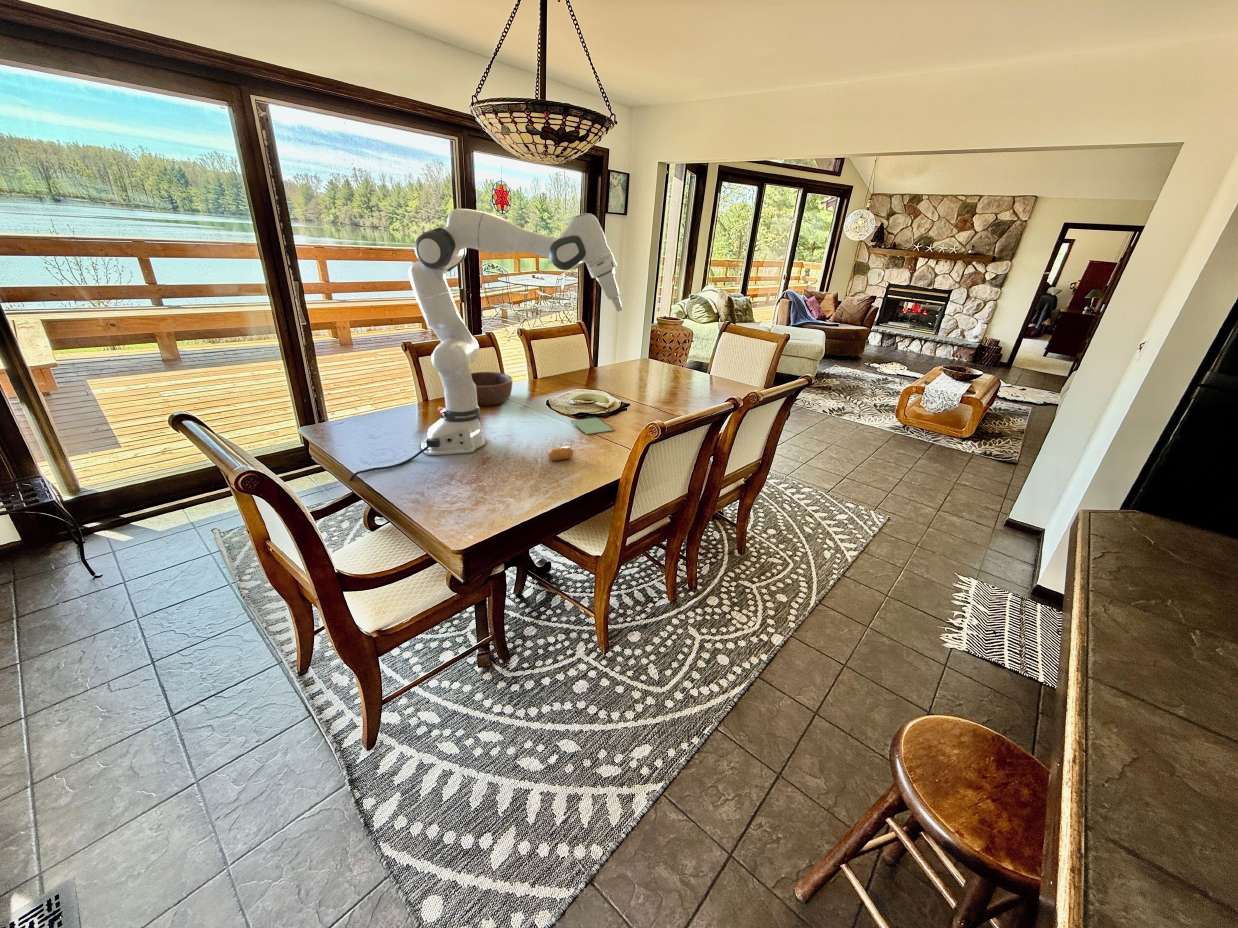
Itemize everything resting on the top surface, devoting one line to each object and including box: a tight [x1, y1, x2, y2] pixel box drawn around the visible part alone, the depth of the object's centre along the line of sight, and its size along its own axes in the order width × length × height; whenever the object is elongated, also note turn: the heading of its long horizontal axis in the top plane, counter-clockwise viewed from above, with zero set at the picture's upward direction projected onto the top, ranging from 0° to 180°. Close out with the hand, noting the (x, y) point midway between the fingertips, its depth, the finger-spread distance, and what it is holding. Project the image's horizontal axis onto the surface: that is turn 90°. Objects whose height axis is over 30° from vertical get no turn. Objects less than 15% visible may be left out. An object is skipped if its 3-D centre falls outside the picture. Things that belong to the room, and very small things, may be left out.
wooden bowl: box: [470, 371, 513, 407], centre depth 223 cm, size 25×25×10 cm
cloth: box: [571, 417, 614, 435], centre depth 202 cm, size 12×16×1 cm
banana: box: [569, 392, 610, 413], centre depth 223 cm, size 14×6×20 cm
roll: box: [547, 445, 574, 462], centre depth 170 cm, size 9×4×4 cm, turn 117°
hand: (619, 309), depth 156 cm, fingers open, 8 cm apart
